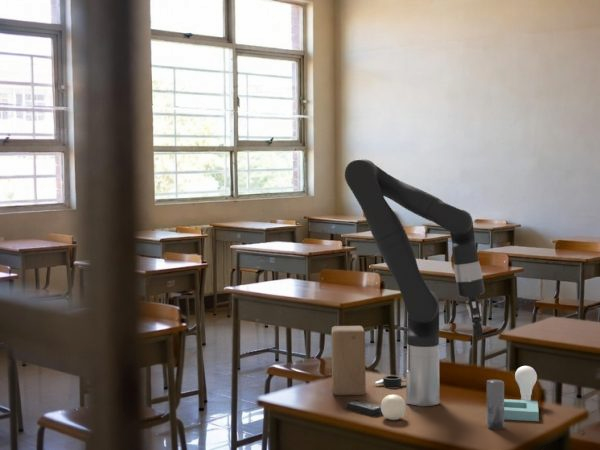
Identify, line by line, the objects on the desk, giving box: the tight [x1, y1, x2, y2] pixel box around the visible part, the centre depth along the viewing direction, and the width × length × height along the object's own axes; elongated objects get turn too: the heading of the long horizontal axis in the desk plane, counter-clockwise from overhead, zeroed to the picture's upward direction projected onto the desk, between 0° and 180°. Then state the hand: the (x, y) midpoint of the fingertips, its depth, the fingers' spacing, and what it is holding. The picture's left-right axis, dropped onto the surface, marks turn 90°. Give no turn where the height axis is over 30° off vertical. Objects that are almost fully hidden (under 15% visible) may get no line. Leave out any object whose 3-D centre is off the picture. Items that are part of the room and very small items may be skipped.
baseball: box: [380, 394, 407, 421], centre depth 216 cm, size 7×7×7 cm
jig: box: [504, 398, 540, 422], centre depth 219 cm, size 12×12×2 cm
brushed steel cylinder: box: [486, 379, 505, 431], centre depth 207 cm, size 4×4×12 cm
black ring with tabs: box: [374, 375, 406, 388], centre depth 254 cm, size 8×10×3 cm
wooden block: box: [331, 325, 367, 396], centre depth 247 cm, size 10×10×20 cm
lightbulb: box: [514, 365, 538, 401], centre depth 230 cm, size 6×6×11 cm
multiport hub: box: [346, 399, 383, 417], centre depth 224 cm, size 4×11×2 cm, turn 42°
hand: (478, 334), depth 228 cm, fingers open, 8 cm apart
